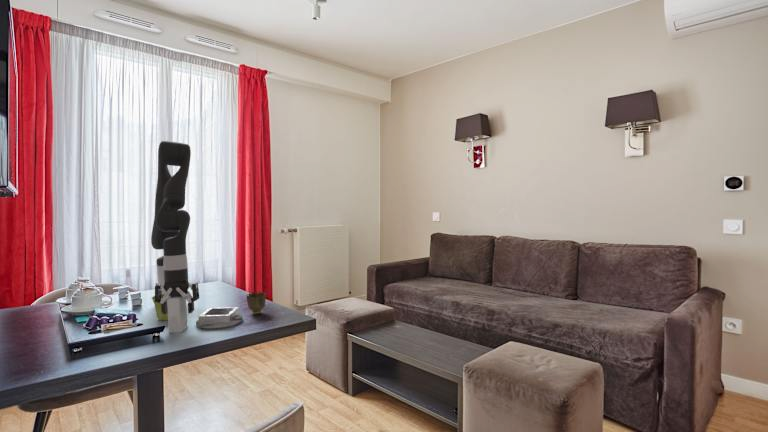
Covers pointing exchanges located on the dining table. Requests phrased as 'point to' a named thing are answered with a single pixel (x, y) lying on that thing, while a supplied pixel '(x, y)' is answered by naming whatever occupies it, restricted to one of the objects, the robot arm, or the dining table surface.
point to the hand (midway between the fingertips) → (178, 313)
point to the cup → (256, 302)
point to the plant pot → (159, 310)
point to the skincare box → (177, 314)
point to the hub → (219, 318)
